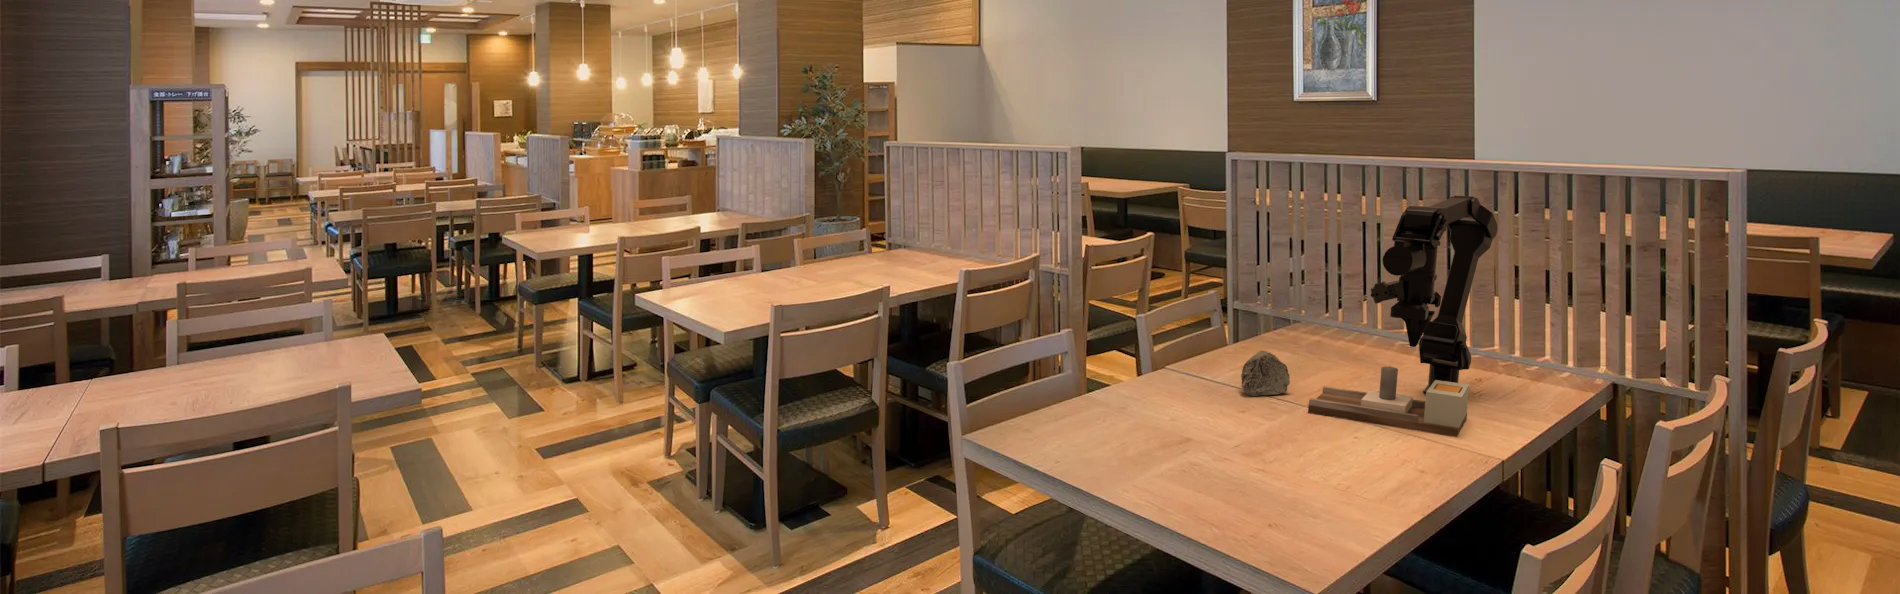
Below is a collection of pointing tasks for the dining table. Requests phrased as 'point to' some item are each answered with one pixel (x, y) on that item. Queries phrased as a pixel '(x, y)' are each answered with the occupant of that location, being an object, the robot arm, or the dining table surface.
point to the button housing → (1446, 404)
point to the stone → (1264, 375)
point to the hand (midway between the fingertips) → (1412, 346)
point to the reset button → (1448, 388)
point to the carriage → (1388, 394)
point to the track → (1375, 412)
